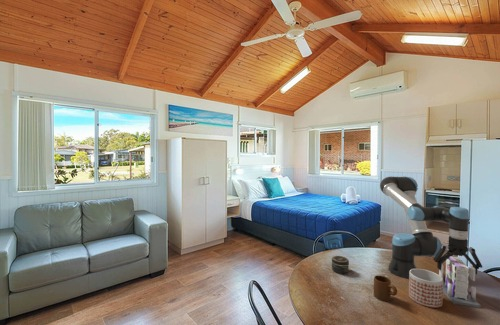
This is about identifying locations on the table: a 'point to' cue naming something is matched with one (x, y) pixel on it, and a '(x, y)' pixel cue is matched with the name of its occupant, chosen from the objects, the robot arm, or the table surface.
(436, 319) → the table surface
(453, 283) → the candy box
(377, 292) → the mug
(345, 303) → the table surface
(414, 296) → the planter
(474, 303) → the tray
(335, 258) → the jar
